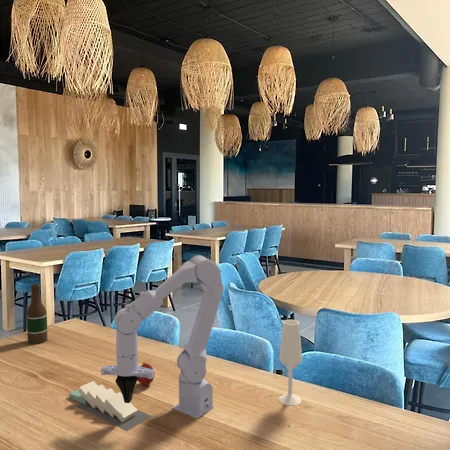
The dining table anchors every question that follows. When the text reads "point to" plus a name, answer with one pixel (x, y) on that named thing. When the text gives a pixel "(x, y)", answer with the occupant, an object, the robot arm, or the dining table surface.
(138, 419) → the runner mat
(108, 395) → the domino
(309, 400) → the dining table surface
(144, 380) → the onion
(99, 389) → the domino
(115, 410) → the domino
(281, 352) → the champagne flute
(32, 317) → the beer bottle
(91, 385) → the domino
